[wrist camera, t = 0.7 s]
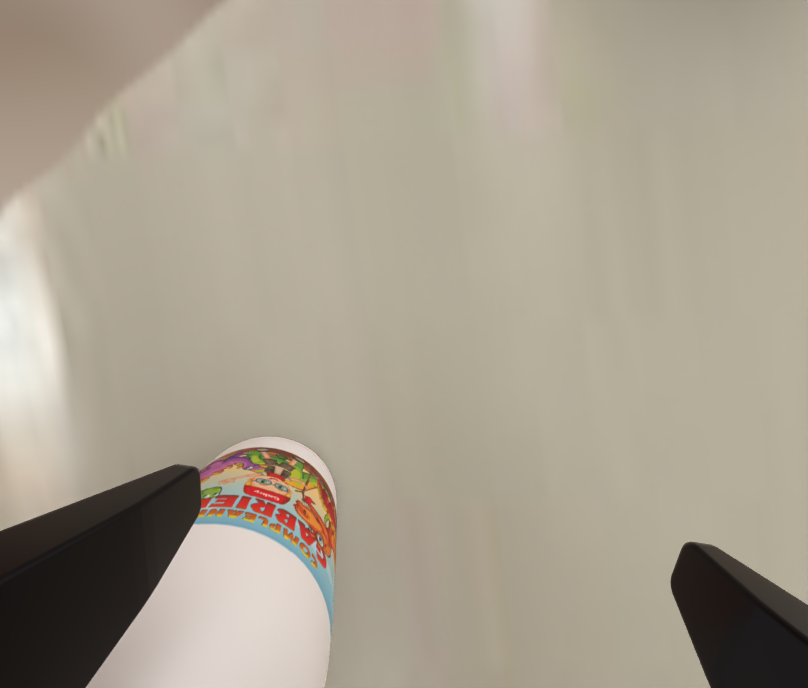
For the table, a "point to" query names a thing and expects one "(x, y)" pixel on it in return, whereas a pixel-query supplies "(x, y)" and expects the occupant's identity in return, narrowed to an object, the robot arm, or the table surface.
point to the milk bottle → (242, 581)
